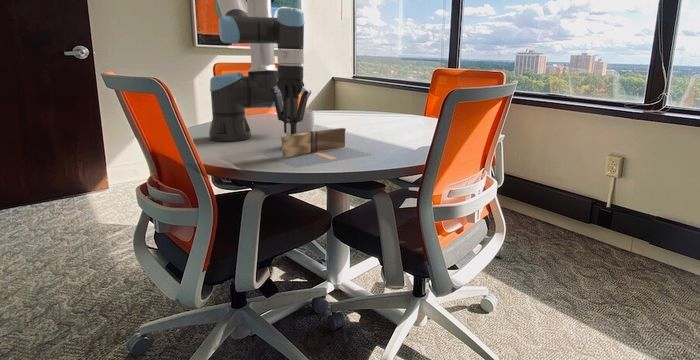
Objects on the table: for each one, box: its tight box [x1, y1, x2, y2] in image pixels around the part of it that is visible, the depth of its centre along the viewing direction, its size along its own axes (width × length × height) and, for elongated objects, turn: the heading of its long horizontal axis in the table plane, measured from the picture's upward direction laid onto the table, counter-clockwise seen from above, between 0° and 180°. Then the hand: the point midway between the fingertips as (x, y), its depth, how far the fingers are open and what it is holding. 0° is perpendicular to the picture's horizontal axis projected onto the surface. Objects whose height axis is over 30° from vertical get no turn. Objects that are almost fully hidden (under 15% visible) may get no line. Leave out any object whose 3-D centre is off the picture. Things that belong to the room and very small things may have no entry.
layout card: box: [262, 146, 373, 168], centre depth 143 cm, size 21×27×1 cm
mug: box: [296, 109, 315, 134], centre depth 156 cm, size 10×7×12 cm, turn 13°
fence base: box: [309, 127, 346, 153], centre depth 148 cm, size 2×13×6 cm, turn 126°
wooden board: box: [280, 132, 311, 158], centre depth 140 cm, size 11×2×6 cm, turn 140°
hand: (290, 144), depth 141 cm, fingers closed
